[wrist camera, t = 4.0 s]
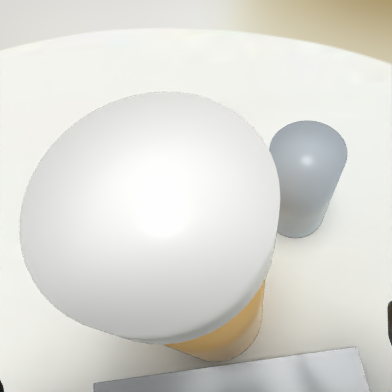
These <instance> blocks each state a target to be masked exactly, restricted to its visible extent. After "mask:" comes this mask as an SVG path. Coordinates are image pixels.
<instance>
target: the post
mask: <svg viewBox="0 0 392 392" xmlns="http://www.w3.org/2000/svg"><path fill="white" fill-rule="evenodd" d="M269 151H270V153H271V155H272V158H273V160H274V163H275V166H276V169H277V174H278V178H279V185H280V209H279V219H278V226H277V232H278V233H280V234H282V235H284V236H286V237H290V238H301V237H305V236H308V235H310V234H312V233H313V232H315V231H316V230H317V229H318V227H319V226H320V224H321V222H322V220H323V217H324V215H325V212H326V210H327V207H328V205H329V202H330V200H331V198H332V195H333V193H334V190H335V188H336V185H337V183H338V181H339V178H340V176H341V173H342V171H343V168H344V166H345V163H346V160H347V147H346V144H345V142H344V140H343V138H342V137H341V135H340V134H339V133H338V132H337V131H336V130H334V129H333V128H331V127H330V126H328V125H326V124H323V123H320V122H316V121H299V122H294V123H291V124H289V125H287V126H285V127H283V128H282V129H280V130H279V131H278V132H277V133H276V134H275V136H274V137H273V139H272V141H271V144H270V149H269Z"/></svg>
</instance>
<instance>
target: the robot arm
mask: <svg viewBox="0 0 392 392" xmlns="http://www.w3.org/2000/svg"><path fill="white" fill-rule="evenodd" d="M388 335H389V339H390V342H391V345H392V301H391V302H390V303H389V304H388ZM0 392H4V388H3V385H2V383H1V381H0Z"/></svg>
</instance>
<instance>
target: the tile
mask: <svg viewBox="0 0 392 392" xmlns="http://www.w3.org/2000/svg"><path fill="white" fill-rule="evenodd" d="M94 392H370V389H369V386H368V383H367V379H366V376H365V372H364V369H363V366H362V362H361V359H360V356H359V352H358V349H357V347H350V348H343V349H336V350H329V351H321V352H314V353H307V354H300V355H293V356H286V357H278V358H271V359H264V360H257V361H250V362H242V363H235V364H228V365H221V366H214V367H207V368H199V369H192V370H185V371H178V372H171V373H163V374H156V375H149V376H142V377H135V378H128V379H120V380H113V381H106V382H99V383H94Z"/></svg>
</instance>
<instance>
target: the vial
mask: <svg viewBox="0 0 392 392" xmlns="http://www.w3.org/2000/svg"><path fill="white" fill-rule="evenodd" d="M279 209H280V185H279V178H278V174H277V169H276V166H275V163H274V160H273V158H272V155H271V153H270V151H269V149H268V147H267V146H266V144H265V142H264V140H263V139H262V138H261V136H260V135H259V134H258V132H257V131H256V130H255V129H254V128H253V127H252V126H251V125H250V124H249V123H248V122H247V121H246V120H245V119H244V118H243V117H241V116H240V115H239V114H237V113H236V112H235V111H233V110H232V109H230V108H228V107H226V106H224V105H222V104H221V103H218V102H216V101H213V100H211V99H208V98H205V97H201V96H198V95H194V94H188V93H181V92H153V93H145V94H139V95H134V96H130V97H127V98H123V99H120V100H117V101H115V102H112V103H110V104H107V105H105V106H103V107H101V108H99V109H97V110H95V111H93V112H91V113H90V114H88V115H87V116H85V117H83V118H82V119H80V120H79V121H78V122H76V123H75V124H74V125H73V126H71V127H70V128H69V129H68V130H67V131H66V132H64V133H63V134H62V135H61V136H60V137H59V138H58V139H57V140H56V141H55V143H54V144H53V145H52V146H51V147H50V148H49V149H48V151H47V152H46V154H45V155H44V156H43V158H42V159H41V161H40V162H39V164H38V166H37V167H36V169H35V171H34V173H33V175H32V177H31V179H30V181H29V184H28V186H27V189H26V192H25V195H24V199H23V203H22V207H21V214H20V242H21V250H22V254H23V257H24V261H25V264H26V267H27V269H28V271H29V273H30V275H31V278H32V280H33V281H34V283H35V284H36V286H37V287H38V289H39V290H40V292H41V293H42V294H43V295H44V296H45V297H46V298H47V300H48V301H49V302H50V303H51V304H52V305H53V306H54V307H56V308H57V309H58V310H60V311H61V312H62V313H64V314H65V315H66V316H68V317H70V318H72V319H74V320H75V321H77V322H79V323H81V324H83V325H86V326H89V327H92V328H95V329H98V330H101V331H104V332H107V333H110V334H113V335H116V336H119V337H123V338H126V339H129V340H132V341H136V342H141V343H147V344H163V345H166V346H168V347H171V348H173V349H176V350H179V351H181V352H184V353H186V354H189V355H192V356H194V357H197V358H199V359H202V360H206V361H213V362H219V361H226V360H230V359H232V358H235V357H237V356H238V355H240V354H242V353H243V352H244V351H245V350H247V349H248V347H249V346H250V345H251V344H252V343H253V341H254V340H255V338H256V336H257V334H258V332H259V329H260V326H261V321H262V310H263V297H264V285H265V278H266V275H267V273H268V270H269V267H270V265H271V262H272V257H273V253H274V249H275V241H276V234H277V226H278V219H279Z"/></svg>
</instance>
